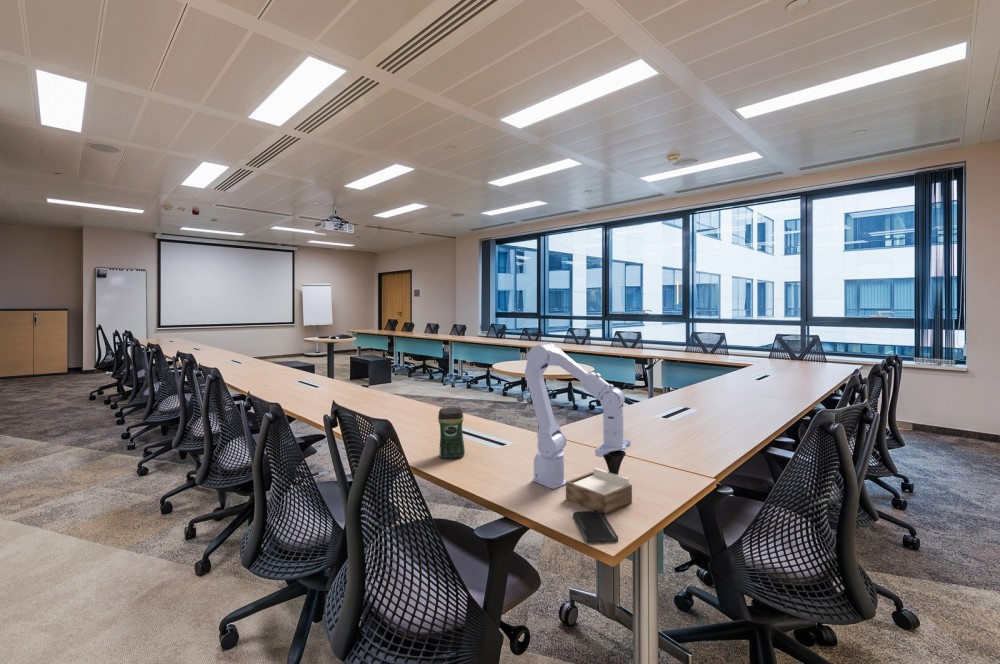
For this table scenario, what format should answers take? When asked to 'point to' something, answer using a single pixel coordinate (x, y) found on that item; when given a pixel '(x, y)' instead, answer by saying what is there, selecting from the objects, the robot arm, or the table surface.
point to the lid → (603, 481)
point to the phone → (595, 527)
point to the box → (598, 496)
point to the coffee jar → (451, 433)
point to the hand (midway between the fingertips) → (613, 475)
